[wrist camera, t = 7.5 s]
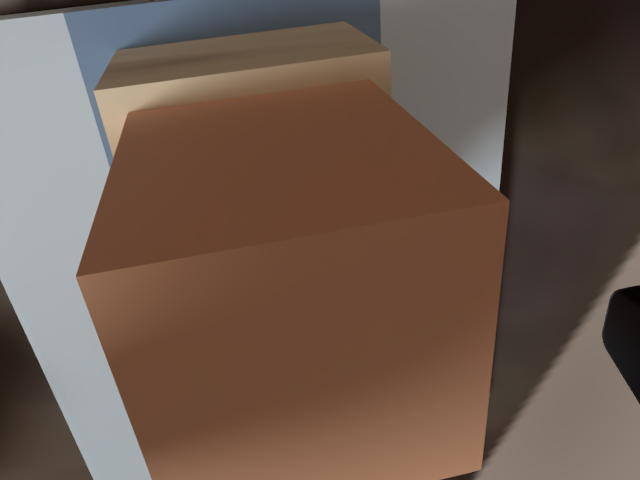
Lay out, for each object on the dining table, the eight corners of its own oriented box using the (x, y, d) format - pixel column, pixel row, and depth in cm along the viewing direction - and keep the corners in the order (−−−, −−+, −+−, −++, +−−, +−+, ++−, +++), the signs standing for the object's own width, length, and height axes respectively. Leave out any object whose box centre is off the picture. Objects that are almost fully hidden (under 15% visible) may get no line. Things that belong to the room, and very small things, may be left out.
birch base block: (356, 216, 18) (394, 285, 15) (169, 249, 17) (164, 329, 14) (344, 21, 15) (390, 50, 11) (115, 50, 14) (93, 91, 11)
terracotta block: (376, 273, 14) (481, 469, 9) (180, 310, 14) (176, 543, 8) (369, 78, 12) (510, 200, 7) (127, 112, 11) (76, 277, 6)
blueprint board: (468, 399, 25) (478, 416, 24) (107, 481, 23) (104, 503, 22) (502, -43, 16) (520, -41, 15) (-96, 26, 14) (-115, 33, 13)
